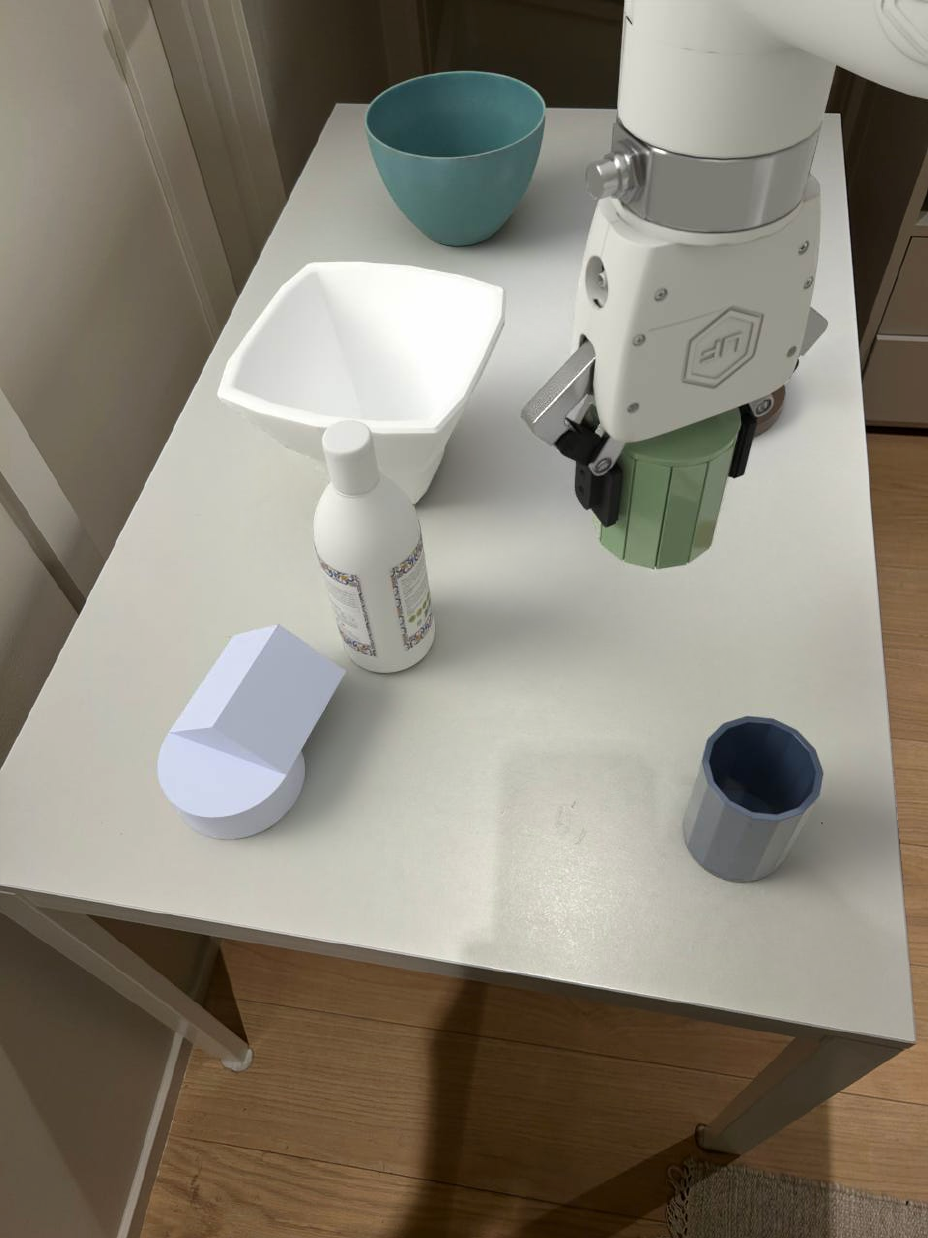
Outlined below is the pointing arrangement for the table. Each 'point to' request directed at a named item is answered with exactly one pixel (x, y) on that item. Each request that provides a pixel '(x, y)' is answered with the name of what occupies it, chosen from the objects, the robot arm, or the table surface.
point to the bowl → (367, 361)
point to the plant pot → (457, 150)
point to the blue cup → (750, 798)
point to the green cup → (672, 493)
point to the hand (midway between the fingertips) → (660, 482)
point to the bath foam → (372, 556)
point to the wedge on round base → (247, 734)
